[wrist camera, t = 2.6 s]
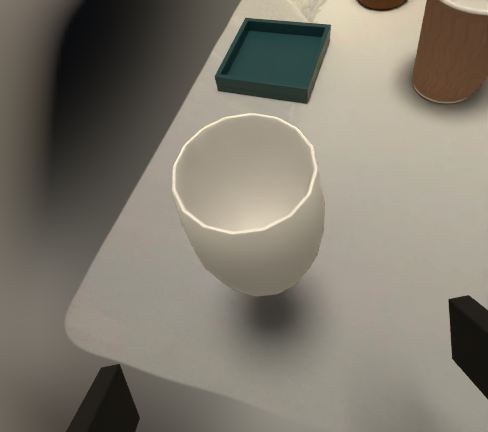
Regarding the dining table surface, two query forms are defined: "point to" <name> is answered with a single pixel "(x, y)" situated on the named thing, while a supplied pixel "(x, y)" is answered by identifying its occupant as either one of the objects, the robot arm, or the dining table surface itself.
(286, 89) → the cup tray
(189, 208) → the cup
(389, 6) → the mug
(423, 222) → the dining table surface
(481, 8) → the coffee cup
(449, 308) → the robot arm
